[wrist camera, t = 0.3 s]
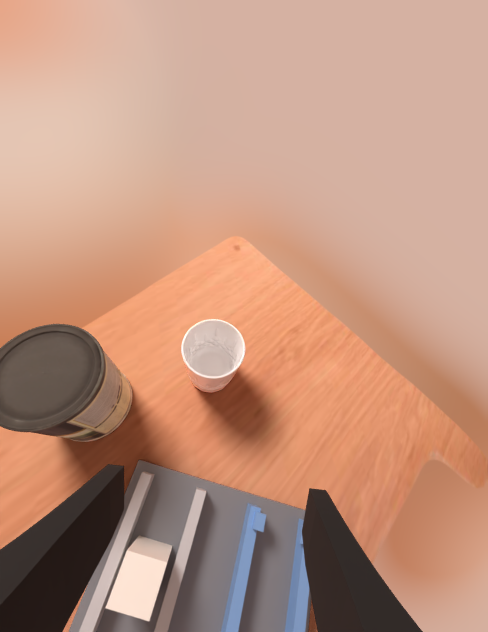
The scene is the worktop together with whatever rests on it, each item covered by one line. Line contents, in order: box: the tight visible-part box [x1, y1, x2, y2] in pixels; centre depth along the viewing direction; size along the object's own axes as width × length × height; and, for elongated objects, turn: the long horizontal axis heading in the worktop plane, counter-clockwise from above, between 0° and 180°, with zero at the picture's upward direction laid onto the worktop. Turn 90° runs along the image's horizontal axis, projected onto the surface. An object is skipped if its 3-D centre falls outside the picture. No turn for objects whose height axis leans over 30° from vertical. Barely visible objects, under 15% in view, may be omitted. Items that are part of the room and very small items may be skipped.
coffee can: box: [0, 324, 132, 442], centre depth 31 cm, size 10×10×14 cm
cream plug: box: [106, 536, 172, 621], centre depth 27 cm, size 4×4×6 cm
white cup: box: [181, 319, 245, 393], centre depth 38 cm, size 8×8×10 cm
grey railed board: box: [69, 460, 311, 632], centre depth 29 cm, size 18×24×4 cm
